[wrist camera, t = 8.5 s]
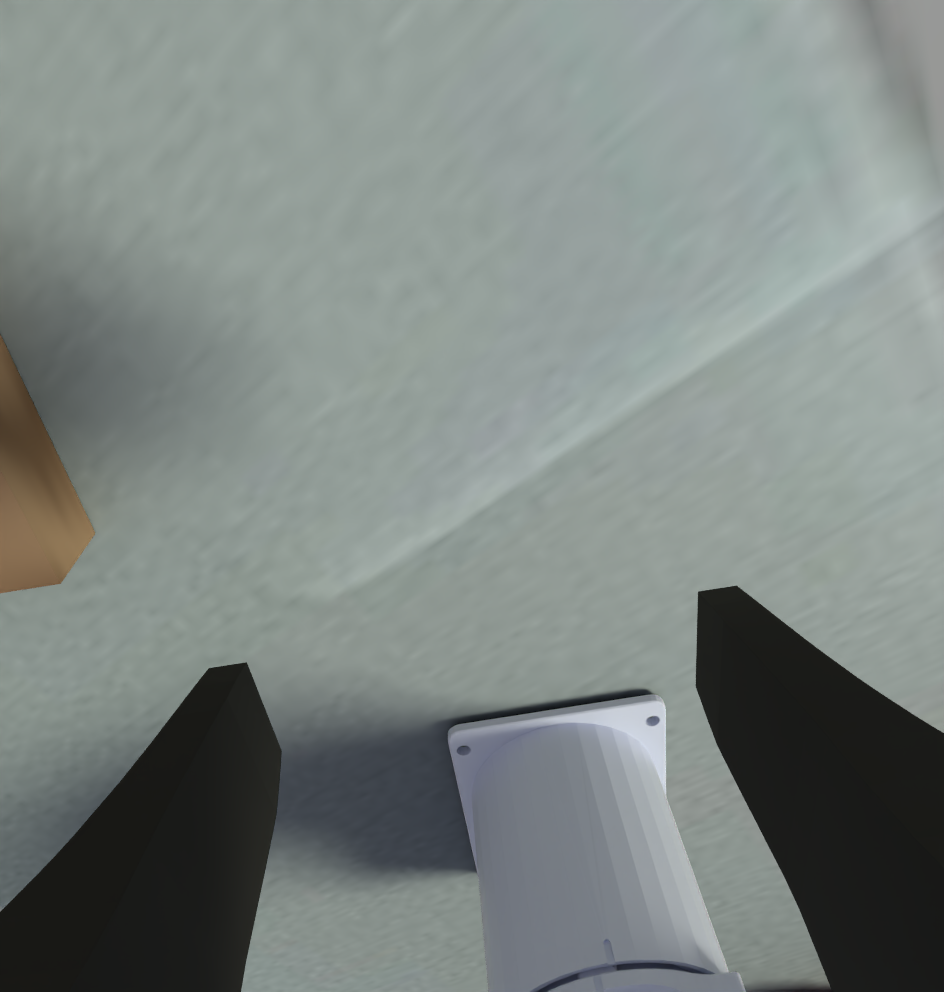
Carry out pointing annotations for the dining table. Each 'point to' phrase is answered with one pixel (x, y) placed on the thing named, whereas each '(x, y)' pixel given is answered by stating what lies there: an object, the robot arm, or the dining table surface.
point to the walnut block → (33, 494)
